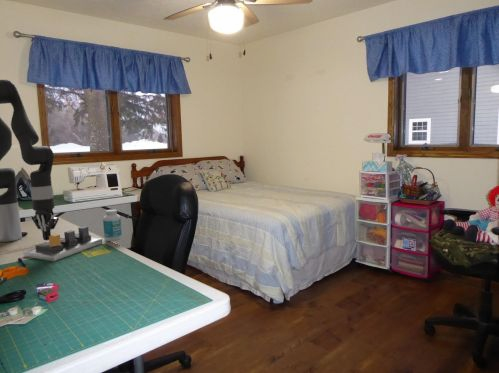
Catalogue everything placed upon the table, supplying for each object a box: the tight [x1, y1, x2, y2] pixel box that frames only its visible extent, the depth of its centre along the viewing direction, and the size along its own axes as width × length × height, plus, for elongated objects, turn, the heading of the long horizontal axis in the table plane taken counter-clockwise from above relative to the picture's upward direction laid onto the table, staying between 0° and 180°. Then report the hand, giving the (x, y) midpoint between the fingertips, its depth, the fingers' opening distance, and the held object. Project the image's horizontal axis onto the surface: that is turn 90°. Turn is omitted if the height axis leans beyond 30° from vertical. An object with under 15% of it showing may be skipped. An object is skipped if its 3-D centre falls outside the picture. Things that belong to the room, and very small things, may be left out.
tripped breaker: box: [48, 233, 61, 246], centre depth 140 cm, size 2×3×4 cm
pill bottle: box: [102, 209, 123, 242], centre depth 161 cm, size 8×7×14 cm
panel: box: [23, 226, 104, 262], centre depth 148 cm, size 17×24×8 cm
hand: (47, 239), depth 142 cm, fingers closed
